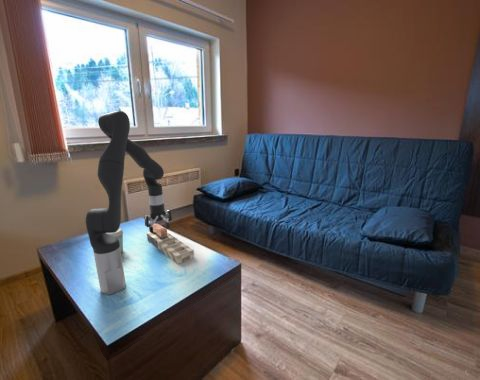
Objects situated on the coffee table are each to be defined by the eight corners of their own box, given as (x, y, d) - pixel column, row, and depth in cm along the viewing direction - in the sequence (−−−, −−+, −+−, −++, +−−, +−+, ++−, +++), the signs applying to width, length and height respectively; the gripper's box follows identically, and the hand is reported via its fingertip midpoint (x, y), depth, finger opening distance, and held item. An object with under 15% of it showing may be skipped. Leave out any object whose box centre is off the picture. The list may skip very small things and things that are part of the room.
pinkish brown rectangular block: (168, 244, 141) (166, 229, 138) (162, 246, 138) (160, 231, 136) (159, 237, 150) (157, 223, 147) (153, 238, 147) (151, 224, 145)
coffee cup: (103, 253, 131) (100, 232, 128) (118, 246, 139) (115, 225, 136) (115, 257, 128) (111, 235, 124) (129, 250, 135) (126, 228, 132)
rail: (194, 257, 126) (193, 250, 125) (177, 264, 121) (176, 256, 120) (162, 234, 153) (161, 228, 152) (146, 239, 147) (146, 232, 146)
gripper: (146, 207, 131) (149, 236, 135) (172, 201, 140) (174, 229, 144) (140, 203, 136) (144, 232, 141) (166, 198, 145) (168, 225, 150)
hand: (159, 230), depth 142 cm, fingers open, 8 cm apart
